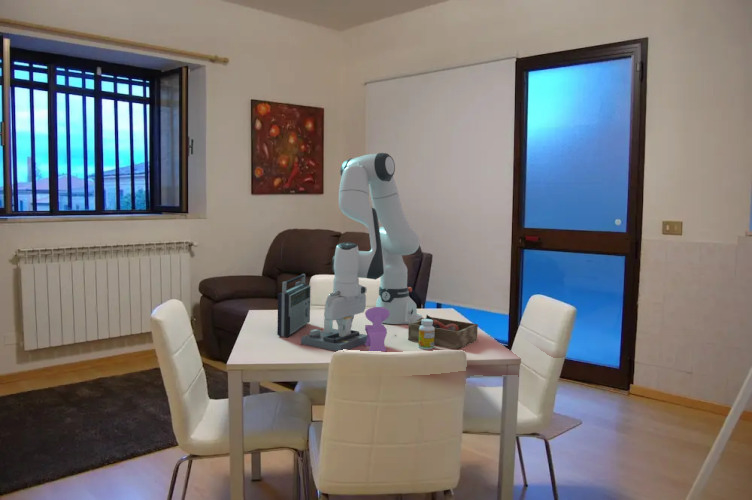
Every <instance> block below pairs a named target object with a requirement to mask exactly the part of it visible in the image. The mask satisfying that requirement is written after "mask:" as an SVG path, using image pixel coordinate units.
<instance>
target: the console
mask: <svg viewBox="0 0 752 500" xmlns="http://www.w3.org/2000/svg"><path fill="white" fill-rule="evenodd" d="M333 322H334V321H331V320H326V319H325V317H323V330H320V329H317V328H316V329H315V328H314V329H310V330H309V334H306V335H304V336H301V337H300V344H301V345H303V346H309V347H313V348H318V349H323V350H326V351H334V352H337V351H338V350H343V349H349V350H351V349H354V348H357V347H359V346H363V345H365V344H366V341H367V334H363V333H360V331H358V330H352V329H351V334H349V335H346V336H343V337H340V336H339V330H338V328H337V329H336V328H333Z"/></svg>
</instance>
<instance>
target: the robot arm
mask: <svg viewBox="0 0 752 500" xmlns="http://www.w3.org/2000/svg"><path fill="white" fill-rule="evenodd" d="M395 170H396V163H395V160H394V159H393V157H392V156H391V155H390V154H389V153H387V152H386V153H385V152H378V153H369V154H364V155H361V156H357V157H353V158H349V159H346V160H344V161H343V162H342V164H341V166H340V172H339V173H340V176H341V177H340V181H339V188H338V189H339V190H338V208H339V210H340V211H341V213H342V214H343V215H345V217H347V218H349V219H351V220H353V221H355V222H357V223H361V224H362V225H364V226H365V227H366V228H367V229H368V233H369V242H370V250H369V251H365V250H359V246H358V244H356V243H353V242H349V241H348V242H340V243H338V244H337V245H336V247H335V250H334V251H335V252H334V255H333V257H332V259H331V260H332V261H331V263H332V267H331V269H332V271H333V273H334V277H333V285H332V286H333V287H332V292H330V293H329V294H328V296H327V298H326V300H325V305H324V312H323V318H325V319H326V320H331V321H333V322H334V321H335V322H336V323H337V330H341V331H342V330H344V329H345V328H344V327H345V325H343V322H342V321H343V318H345V317H348V316H351V328H353V327H352V326H353V325H352V323H353V320H354V318H355V315H358V314H359V315H360V314H363V313H365V310H366V307H367V304H366V303H367V296H366V294H367V286H363V285H362V284H360V280H359V278H360V279H370V280H378V279H380V280H379V281H380V285H379V286H378V287H379V288H378V295H379V297H378V298H377V299H376V302H375V303H376V304H375V307H383V308H386V309H387V310H389V313H390V314H389V317H388V318H387V319H386V320H384V321H383V322H382V324H389V325H404V324H405V325H409V324H410V323H413V322H416V321H419V320H421V319H423V315H422V314H419V313H418V308H417V303H416V302H415V301H414V300H413V299H412V298H411V297H410V293H412V291H413V288H412V287H411V286H408V270H409V269H408V267H407V265H406V263H405V261H404V259H403V256H408V255H412V254H414V253H416V251H418V249H419V247H420V241H421V240H420V236H419V235H418V234H417V233H416V231H415V230H413V228H412V226H411V225H410V222H409V221H408V219H407V217H406V215H405V213H404V211H403V208H402V207H403V206H402V203H401V199H400V195H399V190H398V187H397V184H396V183H397V182H396V181H395V177H394V175H395V172H396V171H395ZM369 195H370V198H371V202H372V206H371V203H370V199H369ZM379 222H380V224H381V226H380V224H379Z"/></svg>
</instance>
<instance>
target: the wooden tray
mask: <svg viewBox="0 0 752 500" xmlns="http://www.w3.org/2000/svg"><path fill="white" fill-rule="evenodd" d="M430 317H431V318H433V319H435V320H437V321H439V322H441V323H442V324H444V325H445V326H446V325H448V324H451V323H453V324H456V325H458V324H459V323H462V325H461V326H460V327H459V331H453V330H447V329H441V328H435V327H434V328H435V335H434V346H436V347H437V346H439V347H443V348H451V349H455V350H460V349H462V348H465V347H466V346H468V345H467V344H469V343H471V344H473V343H474V341H475V342H476V340H477V341H478V327H479V326H478V323H473V322H464V321H459V320H453V319H446V318H440V317H432V316H430ZM422 319H426V317H425V318H421V319H419V320H418V321H416V322H413V323H410V324H408V332H407V333H408V335H407V337H408V338H407V340H408V341H411V342H417V343H419V327H420V326H421V325H422V324H421V321H422ZM472 342H473V343H472ZM465 345H466V346H465ZM469 345H470V344H469Z"/></svg>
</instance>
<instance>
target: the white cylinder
mask: <svg viewBox="0 0 752 500" xmlns="http://www.w3.org/2000/svg"><path fill="white" fill-rule="evenodd" d="M342 322H343V325H345V327H344V328H345V329H344V330H342V331H341V330H339V336H340V337H343V336H346V335H349V334H351V330H352V327H351V316H348V317H345V318H343V321H342Z"/></svg>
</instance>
